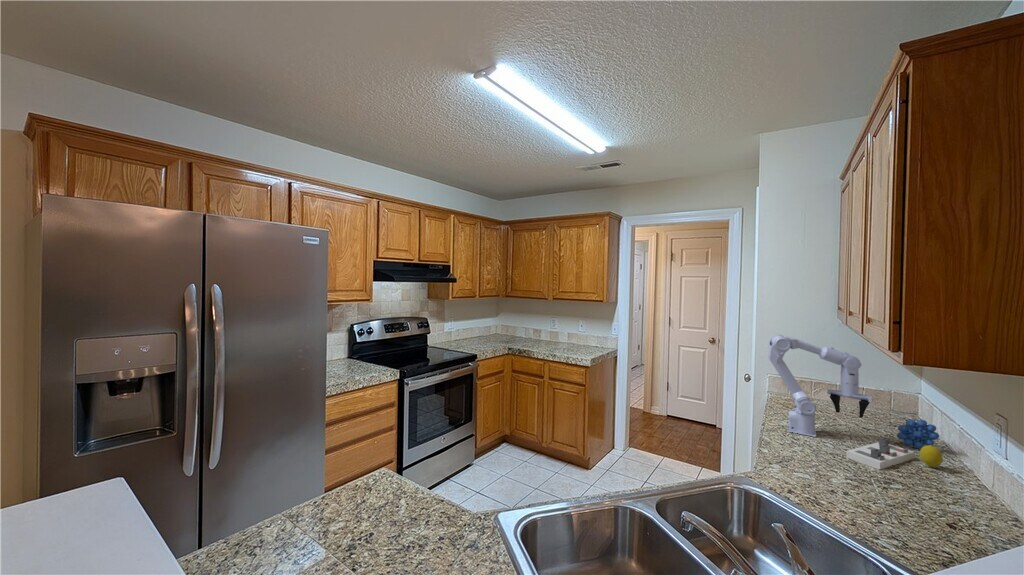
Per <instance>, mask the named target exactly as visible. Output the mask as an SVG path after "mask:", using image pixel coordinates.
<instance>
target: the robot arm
mask: <svg viewBox="0 0 1024 575" xmlns="http://www.w3.org/2000/svg"><path fill="white" fill-rule="evenodd" d="M796 349H800V350H803V351H806V352H809V353H812V354H815V355H818V356H819V358H820V359H821V360H824V361H827V362H829V363H832V364H834V365H839V366H840V390H837V389H830V388H828V389H827V391H826V393H827V395H829V399H831V402H832V404H833V407H834V409H835V413H840V412H841V406H840V405H841V404H840V403H841V397H844V398H849V399H854V400H859V401H858V406H859V414H858V415H859V416H858V418H860V419H862V418H864V414H865V412H866V409H867V408H868V406H869V405H870V403H873V402H874V397H873V396H870V395H865V394H861V393H859V392H860V391H859V389H860V388H859V382H860V381H859V376H860V375H859V369H860V368H861V366H862V363H861V360H860V359H859V358H858V357H856V356H854V355H851V354H850V353H848V352H847V351H843V352H842V351H840V350H837V349H835V348H834V347H833V346H829V347H828V346H824V347H819V346H816V345H813V344H811V343H809V342H805V341H803V340H800V339H798V338H793V337H790V336H784V335H782V334H775V335H773V336H772V337H771V339H770V340H769V342H768V359H769V361H770V362H771V365H773V367H774V368H775V371H776V372H777V374H778V375H779V377H780V378H781V380H782V382H783V383H784V385H785V387H787V390H788V391H789V392H790V395H791V396H792V398H793V403H794V406H796V407H795V408H794V410H792V409H791V410H789V412H788V420H789V421H788V422H787V426H788V432H789V433H792V432H793V434H797V433H798V434H799V435H803V436H809V437H814V438H816V437H817V432H816V411H817V405H816V404H815V402H813V401H812V400H811V399H810V398H809V396H807V395H806V393H805V392H804V391H803V388H801V386H800V384H799V383H798V381H797V380H796V378H795V376H794V375H793V373H792V371H791V370H790V368H789V366H787V363H786V362H785V360H783V358H784V357H785V354H786V353H787V352H788V351H789V350H796Z"/></svg>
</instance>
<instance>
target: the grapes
mask: <svg viewBox="0 0 1024 575" xmlns="http://www.w3.org/2000/svg"><path fill="white" fill-rule="evenodd" d="M904 423H905V424H900V425H899V426H898V427H897V429H898V431H899V432H897V434H896V437H897V438H898V439H899V440H902V443H903V445H904V446H906V447H912V446H913V447H914V448H915V449H917V450H921V448H922V447H924V446H929V445H932V446H933V447H934V445H935V441H934V440H938V439H939V438H940V434H939V433H938V432H936V430H937V427H936V425H934V424H932V423H930V424H928V422H927V421H926V420H924V419H918V420H917V421H915V420H913V419H908V420H906V421H905V422H904Z"/></svg>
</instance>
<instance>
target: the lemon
mask: <svg viewBox="0 0 1024 575" xmlns="http://www.w3.org/2000/svg"><path fill="white" fill-rule="evenodd" d="M919 456H920V460H921V461H922V462H923V463H924V464H926V465H927V466H928V467H929V468H934V467H939V466H941V465H942V463H943V461H944V460H943V458H944V457H943V454H942V451H940V449H938V448H937V447H936V446H934V445H933V446H932V445H929V446H925V445H924V447H922V448H921V449H919Z"/></svg>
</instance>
